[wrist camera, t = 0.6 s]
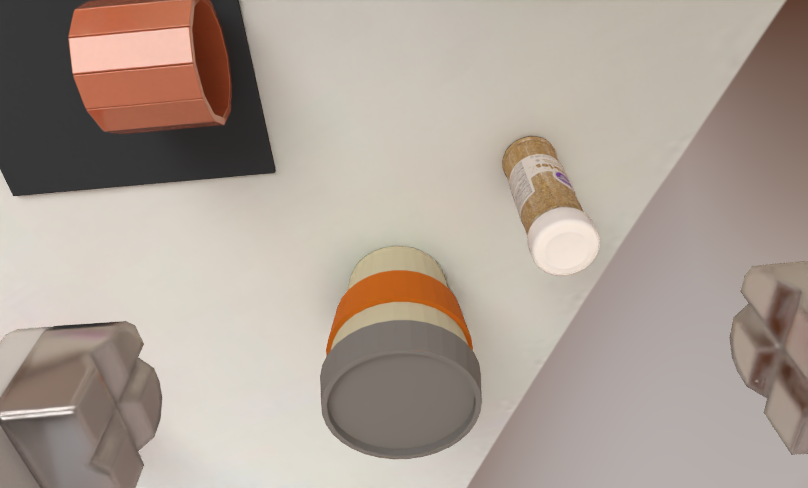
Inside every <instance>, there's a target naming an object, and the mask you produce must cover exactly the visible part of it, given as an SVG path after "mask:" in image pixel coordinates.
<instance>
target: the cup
mask: <svg viewBox="0 0 808 488" xmlns="http://www.w3.org/2000/svg"><path fill="white" fill-rule="evenodd" d="M68 37H69V38H68V40H69V49H70V57H71V65H72V73H73V74H74V75H73V77H74V80H75V82H76V85H77V88H78V90H79V93H80V95H81V98H82V101H83V103H84V106H85V108H86V109H87V112H88V113H89V114H90V115H91V117H92V118H93V119H94V120H95V121H96V123H97V124H98V125H99V126H100V128H101V129H102V130H103V131H105V132H110V133H114V134H130V133H141V132H152V131H163V130H174V129H185V128H196V127H207V126H218V125H224V124H225V122H226V120H227V118H228V116H229V114H230V112H231V98H232V81H231V72H230V62H229V57H228V56H229V55H228V51H227V47H226V42H225V38H224V34H223V30H222V27H221V23H220V21H219V19H218V16H217V14H216V11H215V9H214V7H213V4H212V2H211V1H210V0H95V1H87V2H86V3H84V4H83V5H81V6H79V7H78V8H76V9H75V11H74V12H73V17H72V22H71V26H70V31H69V36H68Z"/></svg>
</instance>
